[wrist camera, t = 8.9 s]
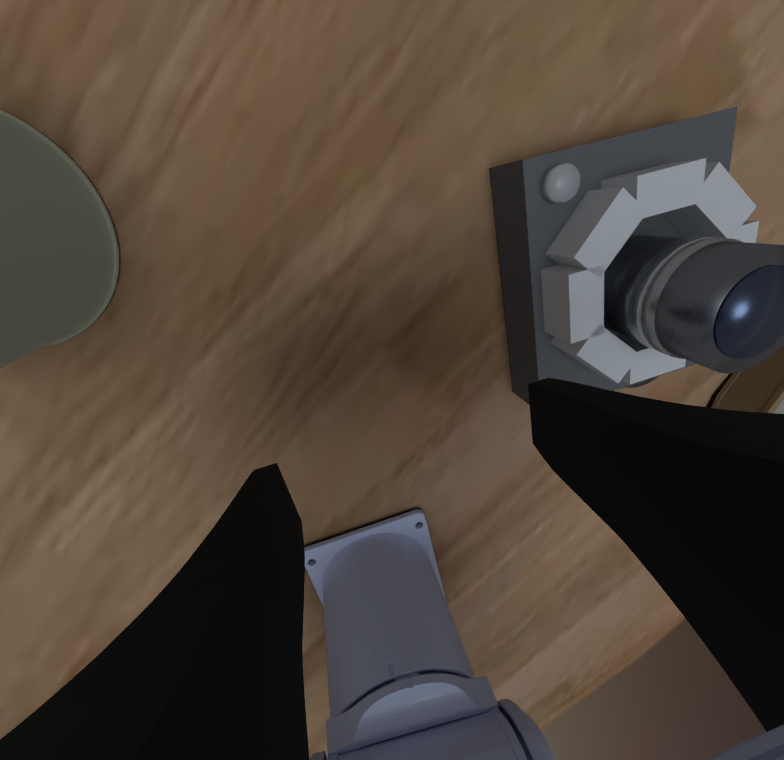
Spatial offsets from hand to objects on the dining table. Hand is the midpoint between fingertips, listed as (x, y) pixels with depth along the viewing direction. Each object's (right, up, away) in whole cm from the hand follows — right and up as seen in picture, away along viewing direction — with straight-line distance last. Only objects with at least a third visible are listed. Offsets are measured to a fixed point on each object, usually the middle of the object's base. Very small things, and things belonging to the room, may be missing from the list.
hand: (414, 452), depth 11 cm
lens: (+11, +7, +8) cm, 15 cm away
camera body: (+10, +8, +11) cm, 17 cm away
